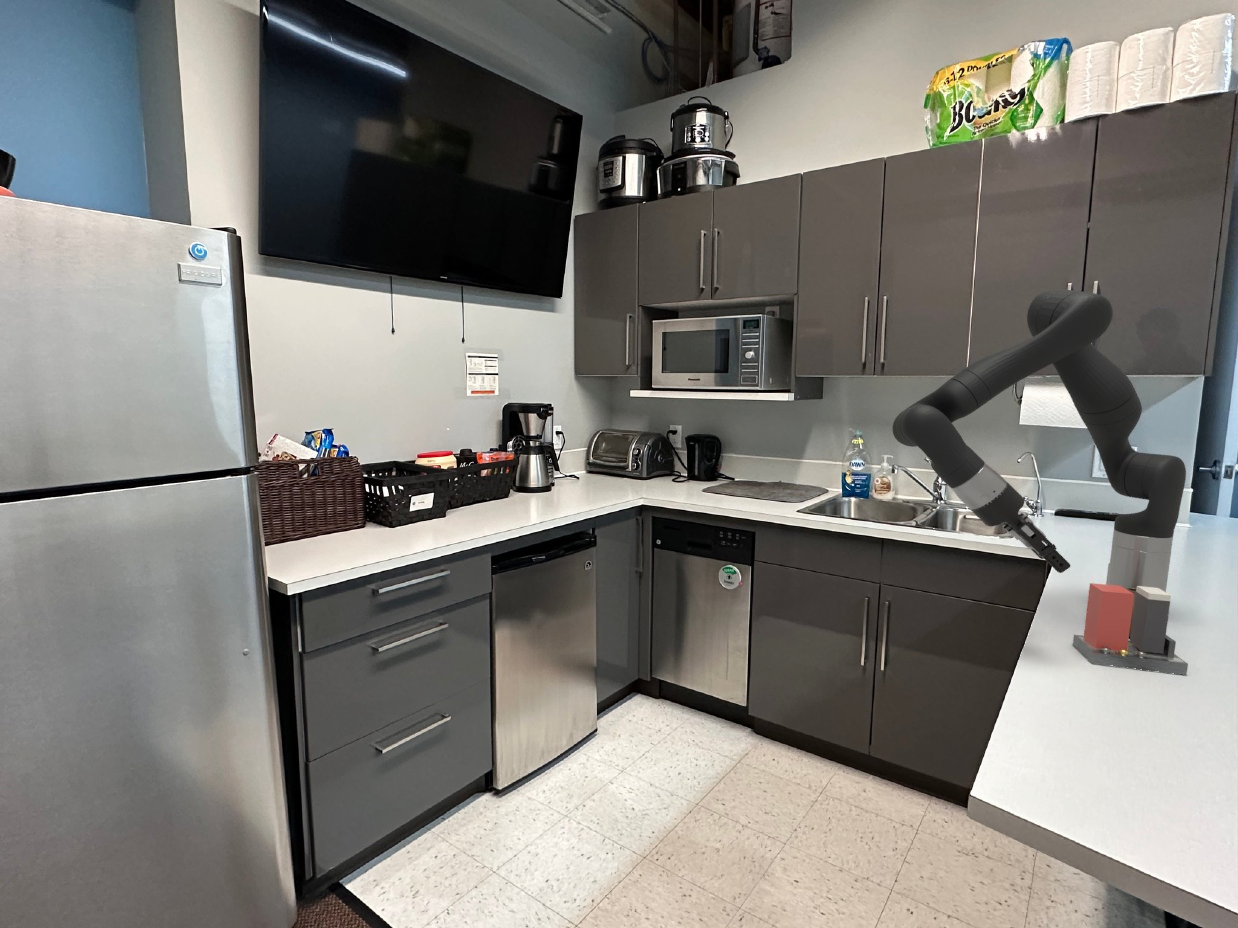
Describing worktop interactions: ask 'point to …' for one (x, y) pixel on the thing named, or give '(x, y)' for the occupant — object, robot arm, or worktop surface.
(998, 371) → the robot arm
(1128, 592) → the block
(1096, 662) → the ball-studded metal plate
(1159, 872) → the worktop surface
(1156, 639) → the block
